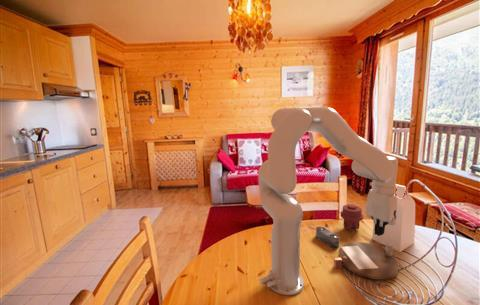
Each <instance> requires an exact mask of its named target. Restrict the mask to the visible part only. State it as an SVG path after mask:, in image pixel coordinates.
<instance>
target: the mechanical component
mask: <svg viewBox="0 0 480 305" xmlns="http://www.w3.org/2000/svg"><path fill="white" fill-rule="evenodd" d="M362 210H363V208H362V207H361V206H359V205H356V204H351V203H350V204H345V205H343V206H342V211H340V217H341V218H342V219H343V224H342V225H343V228H344V229H345V230H348V231H349V232H350V233H352V234H353V233H355V231H357V230H359V229H360V222H361V221H363V220H364V214H363V213H362V212H363V211H362Z"/></svg>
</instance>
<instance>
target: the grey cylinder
mask: <svg viewBox="0 0 480 305" xmlns="http://www.w3.org/2000/svg"><path fill="white" fill-rule="evenodd" d="M315 239H317V240H319V242H320V241H321V242H322V243H323V244H325V245H326V246H328V247H329V248H332V249H340V235H338V234H336V233H335V232H333V231H331V230H329V229H327V228H326V227H324V226H317V227H316V228H315Z"/></svg>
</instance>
